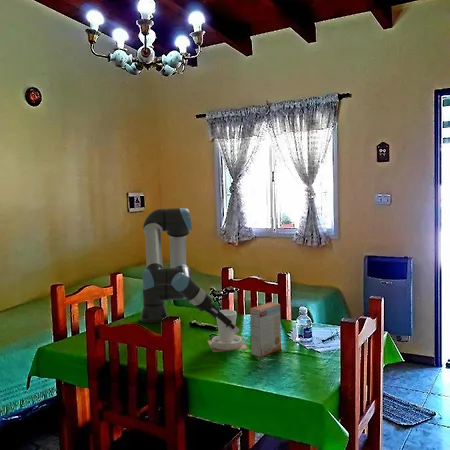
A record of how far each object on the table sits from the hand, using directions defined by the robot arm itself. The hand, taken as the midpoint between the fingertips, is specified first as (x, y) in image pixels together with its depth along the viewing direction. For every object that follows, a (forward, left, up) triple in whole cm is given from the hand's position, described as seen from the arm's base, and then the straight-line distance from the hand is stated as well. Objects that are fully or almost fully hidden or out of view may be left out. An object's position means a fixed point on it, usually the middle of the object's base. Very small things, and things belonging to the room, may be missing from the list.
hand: (232, 328), depth 215 cm
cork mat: (+1, -3, -7) cm, 8 cm away
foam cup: (+1, -3, -5) cm, 6 cm away
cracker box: (+14, +12, -8) cm, 20 cm away
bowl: (+1, -3, -7) cm, 8 cm away
